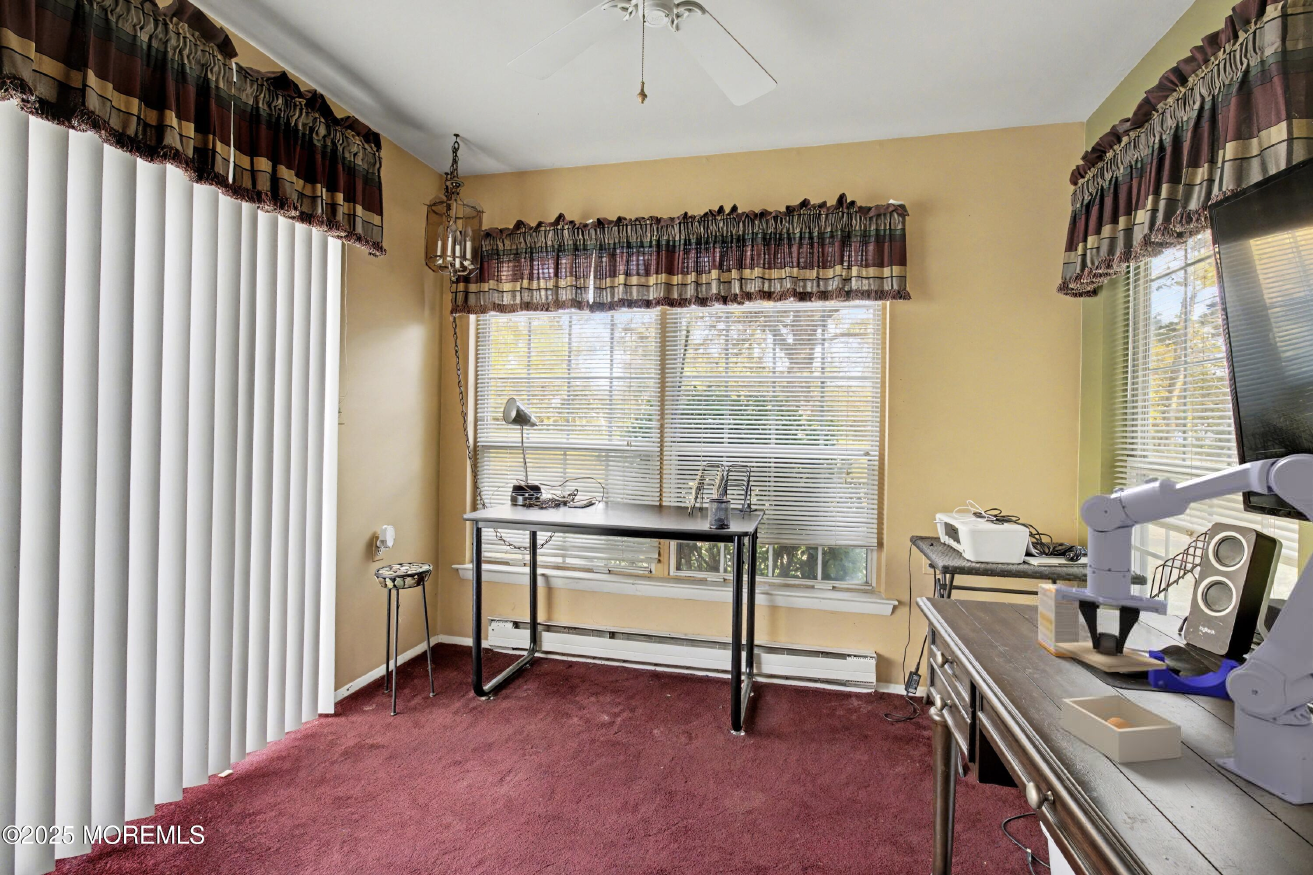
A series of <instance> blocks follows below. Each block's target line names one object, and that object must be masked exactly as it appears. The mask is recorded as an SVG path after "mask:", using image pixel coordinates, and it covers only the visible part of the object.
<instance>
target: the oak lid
mask: <svg viewBox="0 0 1313 875" xmlns="http://www.w3.org/2000/svg"><path fill="white" fill-rule="evenodd" d="M1054 648H1055V649H1057V650H1060V651H1062V652H1064V653H1066V654H1068V655H1070V656H1072V657H1071V658H1075V659H1077V660H1079V661H1082V662H1084V663H1086V664H1089V665H1090V666H1093V667H1095V668H1097V669H1099V670H1102V671H1104V672H1107V673H1112V672H1113V673H1114V672H1135V671H1137V672H1139V671H1149V670H1152V669H1166V666H1167V663H1166V662H1165V663H1163V662H1160V661H1158V660H1155V659H1153V658H1150V657H1149V656H1147V655H1144V654H1142V653H1139V652H1137V651H1133V650H1131V649H1129V648H1126V647H1124V650H1123V654H1118V653H1117V652H1118V635H1117V634H1114V633H1111V632H1103V631H1102V632H1101V631H1099V632H1098V650H1096V649H1093V645H1092V641H1085V642H1084V641H1079V642H1076V643H1054Z"/></svg>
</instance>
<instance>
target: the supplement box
mask: <svg viewBox="0 0 1313 875" xmlns="http://www.w3.org/2000/svg"><path fill="white" fill-rule="evenodd" d="M1056 586H1060V587H1065V586H1064V585H1062V584H1056V583H1055V584H1054V583H1038V587H1037V588H1038V589H1037V591H1038V592H1037V595H1038V599H1037V601H1038V602H1037V604H1038V605H1037V606H1038V608H1037V610H1038V611H1037V612H1038V613H1037V614H1038V615H1037V616H1038V617H1037V619H1038V620H1037V622H1038V623H1037V624H1038V626H1037V627H1038V630H1037V631H1038V633H1037V635H1038V636H1037V638H1038V639H1037V640H1038V641H1037V644H1040V646H1041V647H1042V648H1044V649H1046V650H1047V651H1048V652H1049V653H1051V654H1052V655H1053V656H1054V657H1059V658H1061V657H1062V658H1073V657H1072V656H1070V655H1068V654H1066V653H1064V652H1062V651H1060V650H1057V649H1055V648H1054V643H1076V642H1080V610H1079V602H1075V601H1068V600H1055V587H1056Z"/></svg>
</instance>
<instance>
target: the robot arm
mask: <svg viewBox="0 0 1313 875" xmlns="http://www.w3.org/2000/svg"><path fill="white" fill-rule="evenodd" d="M1143 481H1144V483H1143V484H1142V483H1141V484H1139V485H1136V486H1132V487H1129V488H1128V487H1127V488H1124V487H1118V488H1117V487H1116V488H1114V489H1112V492H1113V493H1112V494H1094V495H1093V496H1091V497H1089V498H1088V497H1087V499H1085V500H1084V501H1083V503H1082V504H1081V506H1080V517H1081V519H1082V521H1083V523H1084V524H1085V525H1086V526H1087V568H1086V570H1087V571H1086V572H1087V574H1086V575H1087V576H1086V577H1087V581H1086V582H1087V583H1086V585H1087V586H1086V588H1085V587H1084V588H1082V587H1070V586H1069V587H1068V586H1064V587H1060V586H1056V587H1055V600H1068V601H1075V602H1079V613H1080V614H1081V615H1082V616H1081V617H1082V618H1083V619H1084V622H1085V624H1086V627H1087V629H1088V632H1089V635H1090V639H1091V642H1092V645H1093V649H1096V650H1098V633H1099V632H1098V606H1105V607H1111V608H1118V610H1119V614H1118V615H1119V616H1118V617H1119V618H1118V633H1117V634H1118V635H1117V636H1118V652H1117V653H1118V654H1123V650H1124V648H1125V645H1126V643H1127V639H1128V637H1129V635H1130V633H1131V632H1132V630H1133V628H1134V627H1135V626H1136V623H1138V621H1139V620H1140V617H1141V616H1140V612H1146V613H1151V614H1152V613H1153V614H1157V615H1159V616H1165V617H1166V616H1167V611H1168V610H1167V608H1168V603H1167V601H1166V600H1163V599H1156V598H1151V597H1145V596H1141V595H1135V594H1132V592H1131V590H1132V588H1131V587H1132V586H1131V585H1132V584H1131V583H1132V536H1133V529H1134V527H1135V526H1137V525H1143V524H1148V523H1151V522H1156V521H1160V520H1164V519H1169V518H1173V517H1178V516H1182V515H1184V514H1186V512H1187V510H1188V508H1189V507H1190V505H1191V504H1192V503H1197V502H1202V501H1207V500H1211V499H1217V498H1221V497H1225V496H1226V497H1227V496H1230V495H1235V494H1240V493H1245V492H1250V491H1252V492H1256V493H1259V494H1263V495H1272V494H1273V495H1274V494H1275V495H1276V494H1277V495H1278V496H1279V497H1280V498H1281V499H1283V500H1284V501H1285V502H1287V503H1289V505H1291V506H1292V507H1294V508H1295V509H1297V510H1298V511H1300V512H1301V513H1302V514H1304V515H1305V516H1306V517H1307V518H1308V519H1309V521H1310V522H1311V523H1312V524H1313V454H1309V453H1299V454H1298V453H1297V454H1296V453H1295V454H1290V455H1288V456H1284V457H1279V458H1278V457H1277V458H1270V459H1268V458H1267V459H1263V460H1257V461H1250V462H1247V463H1243V464H1239V465H1236V466H1233V467H1230V468H1227V469H1223V470H1219V471H1217V472H1213V473H1212V472H1211V473H1209V474H1206V475H1203V476H1200V477H1196V478H1193V479H1189V480H1187V481H1183V482H1177V481H1174V480H1172V479H1170V478H1166V477H1164V478H1160V479H1159V477H1157V476H1153V477H1148V478H1146V479H1144V480H1143ZM1226 688H1227V691H1228V693H1229V695H1230V697H1231V698H1232V699H1231V700H1232V701H1233V702H1234V722H1233V723H1234V730H1233V732H1234V734H1233V739H1234V741H1233V757H1229V758H1228V757H1227V758H1220V759H1219V758H1217V759H1215V764H1216V765H1218V766H1220V767H1222V768H1224V769H1226V770H1228V771H1230V772H1232V773H1234V774H1235V775H1237V776H1238V777H1241V778H1242V779H1245V780H1247V781H1249V782H1251V783H1253V784H1255V785H1256V786H1258V787H1260V788H1262V789H1264V790H1266V791H1267V792H1270V793H1272V795H1273V794H1274V795H1275V796H1276V797H1279V798H1281V799H1283V800H1285V801H1286V802H1288V803H1290V802H1291V803H1290V804H1294V805H1303V804H1310V803H1311V804H1312V803H1313V722H1312V719H1313V718H1312V717H1313V716H1312V715H1311V712H1310V710H1309V708H1308V704H1311V703H1312V702H1313V552H1312V553H1311V554H1310V556H1309V558H1308V560H1307V562H1306V563H1305V566H1304V568H1303V569H1302V571H1301V573H1300V575H1299V577H1298V578H1297V581H1296V582H1295V584H1294V586H1293V588H1292V590H1291V591H1290V594H1289V595H1288V598H1287V599H1286V600H1285V602H1284V604H1283V606H1282V608H1281V610H1280V611H1279V614H1278V616H1277V618H1276V619H1275V621H1274V622H1273V625H1272V627H1271V629H1270V630H1269V632H1268V634H1267V636H1266V637H1265V640H1264V641H1262V642H1261V644H1260V645H1258V646H1257V647H1256V648H1255V649H1254V650H1253V651H1252V652H1251V653H1250V654H1249V656H1248V658H1247V659H1246V661H1245V662H1244V663H1243V664H1242V665H1240V667H1238V668H1235V669H1233V670H1232V671H1231V672H1230V673H1229V674H1228V676H1227V678H1226Z"/></svg>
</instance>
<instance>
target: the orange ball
mask: <svg viewBox="0 0 1313 875" xmlns="http://www.w3.org/2000/svg"><path fill="white" fill-rule="evenodd" d="M1107 723H1109V724H1111V725H1112V726H1114V727H1116V728H1118V729H1126V728H1130V726H1129V725H1128V723H1127V722H1125V721H1124V720H1122V719H1120V718H1111V719H1109V720H1108V721H1107Z"/></svg>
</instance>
